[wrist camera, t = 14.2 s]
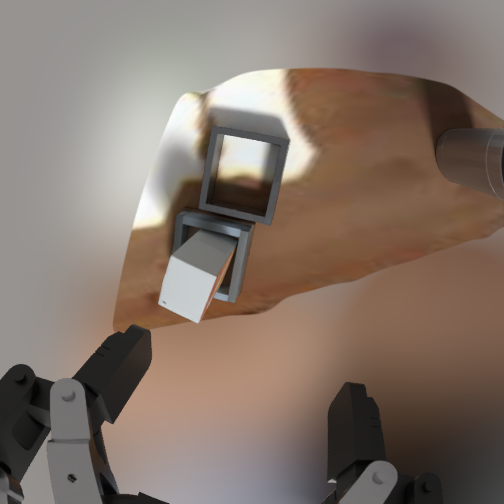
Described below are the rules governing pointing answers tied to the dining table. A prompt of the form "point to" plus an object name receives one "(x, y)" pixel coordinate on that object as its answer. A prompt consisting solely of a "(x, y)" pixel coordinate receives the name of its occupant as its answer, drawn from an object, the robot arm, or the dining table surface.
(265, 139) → the socket
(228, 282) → the frame
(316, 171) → the dining table surface
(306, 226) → the dining table surface
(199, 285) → the small box
